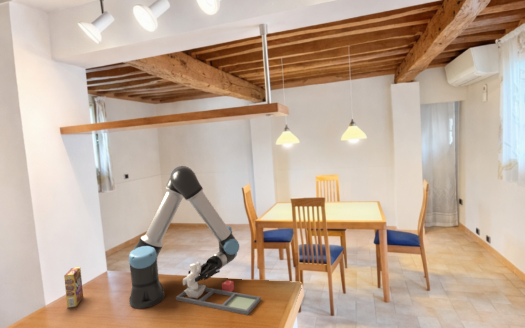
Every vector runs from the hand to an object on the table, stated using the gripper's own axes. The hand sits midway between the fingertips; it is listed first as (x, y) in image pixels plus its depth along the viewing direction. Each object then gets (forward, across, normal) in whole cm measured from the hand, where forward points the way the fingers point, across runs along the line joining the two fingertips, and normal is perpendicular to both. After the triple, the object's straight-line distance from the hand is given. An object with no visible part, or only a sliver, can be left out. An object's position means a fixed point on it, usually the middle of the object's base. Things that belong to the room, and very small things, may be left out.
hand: (186, 282), depth 138 cm
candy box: (+18, +52, -9) cm, 56 cm away
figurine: (-6, 0, -9) cm, 11 cm away
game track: (-5, -12, -9) cm, 16 cm away
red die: (-14, -12, -9) cm, 21 cm away
